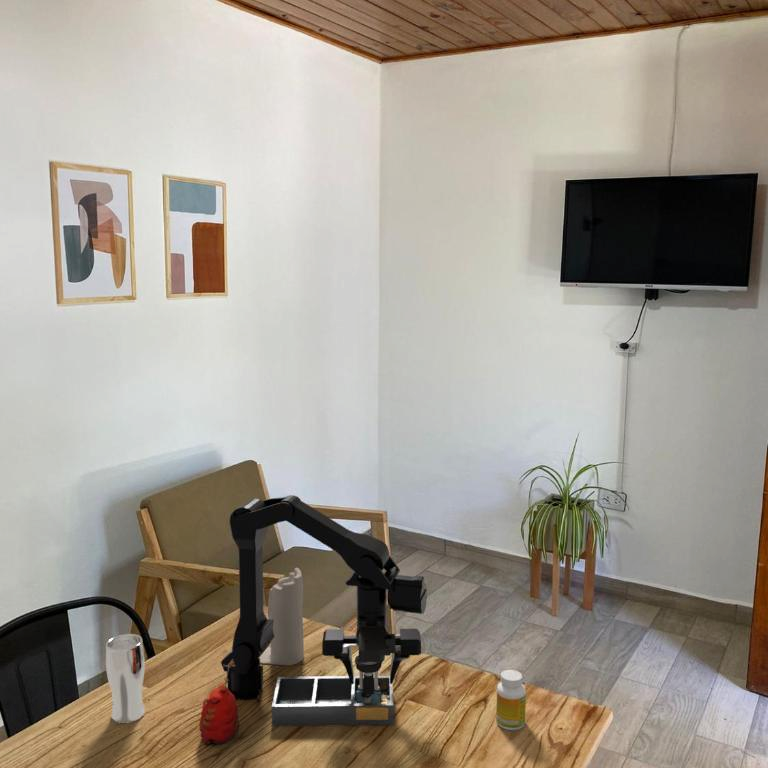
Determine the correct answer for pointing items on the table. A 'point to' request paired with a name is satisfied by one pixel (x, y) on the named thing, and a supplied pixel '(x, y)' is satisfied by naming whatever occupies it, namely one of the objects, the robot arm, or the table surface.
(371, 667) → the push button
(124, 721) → the beer glass
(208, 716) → the red clay folk toy
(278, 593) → the grey tall wavy piece
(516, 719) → the supplement bottle
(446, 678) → the table surface
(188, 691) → the table surface
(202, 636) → the table surface
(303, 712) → the divided tray
